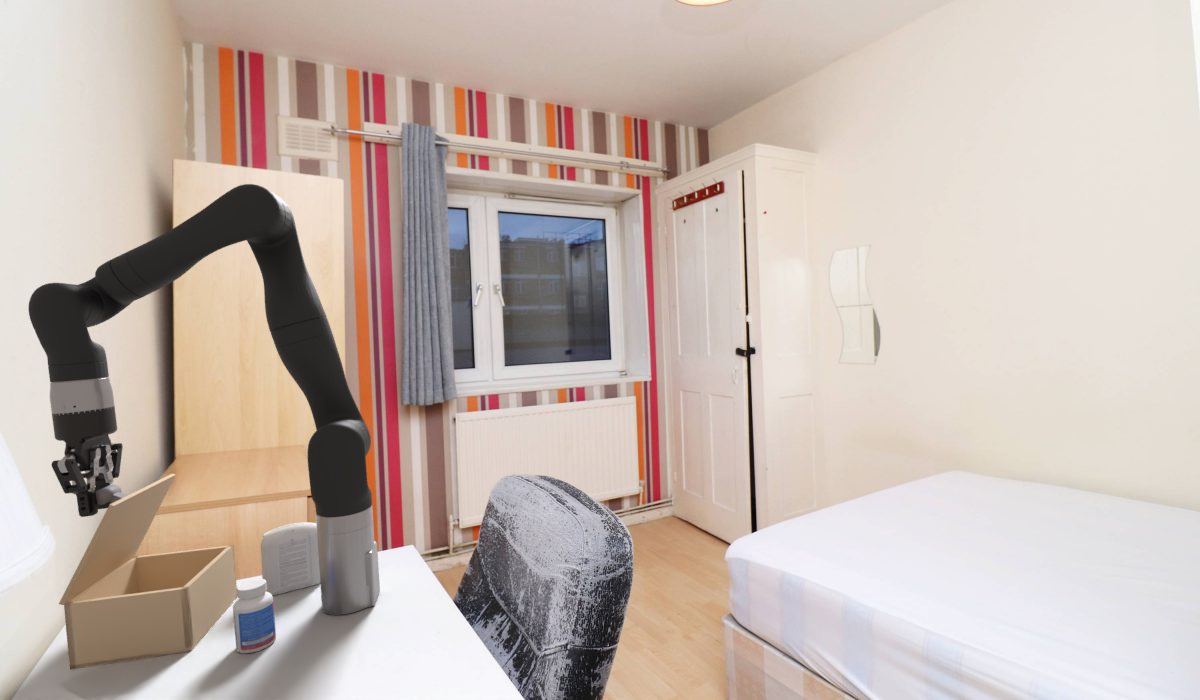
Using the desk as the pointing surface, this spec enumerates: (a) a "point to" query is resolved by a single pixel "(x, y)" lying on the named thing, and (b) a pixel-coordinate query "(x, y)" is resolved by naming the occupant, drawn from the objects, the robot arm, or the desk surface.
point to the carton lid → (117, 533)
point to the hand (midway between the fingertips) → (96, 511)
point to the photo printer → (290, 557)
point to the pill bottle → (254, 617)
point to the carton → (150, 606)
